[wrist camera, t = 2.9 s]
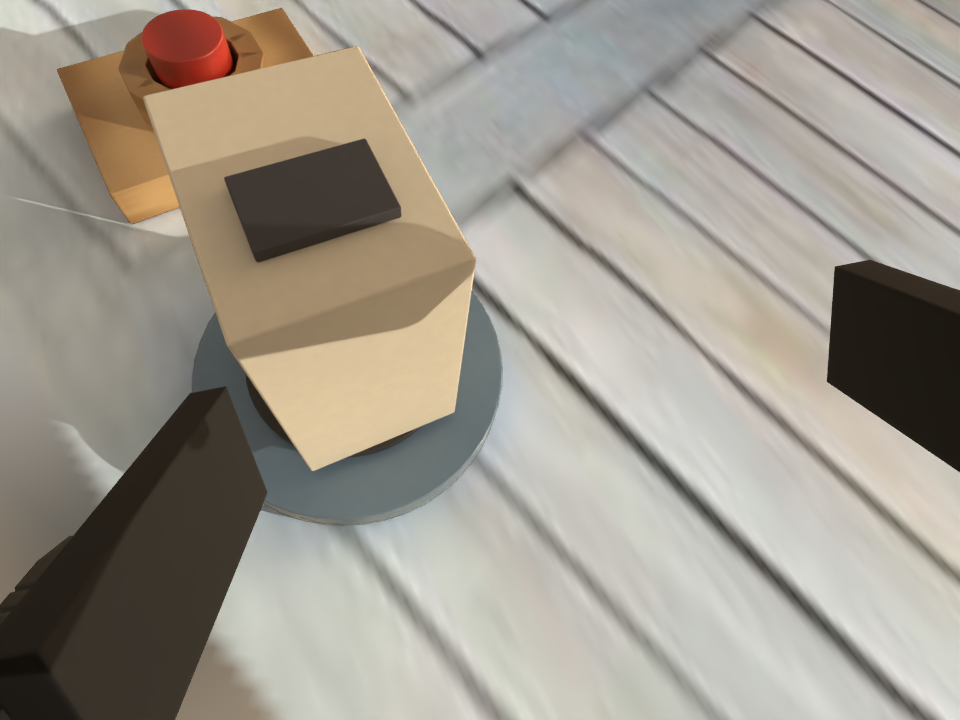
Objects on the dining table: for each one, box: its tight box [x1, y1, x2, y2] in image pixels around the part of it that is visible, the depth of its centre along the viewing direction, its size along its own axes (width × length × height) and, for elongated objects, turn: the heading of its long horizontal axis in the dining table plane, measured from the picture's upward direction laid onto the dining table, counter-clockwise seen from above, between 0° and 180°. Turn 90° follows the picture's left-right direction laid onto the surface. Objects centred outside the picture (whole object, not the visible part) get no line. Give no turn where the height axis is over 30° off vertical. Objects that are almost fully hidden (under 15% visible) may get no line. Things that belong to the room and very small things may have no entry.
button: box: [141, 9, 233, 89], centre depth 28 cm, size 4×4×2 cm
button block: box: [57, 8, 313, 224], centre depth 30 cm, size 12×9×4 cm
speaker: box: [143, 46, 476, 471], centre depth 20 cm, size 9×8×12 cm
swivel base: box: [192, 291, 503, 526], centre depth 26 cm, size 13×13×2 cm
